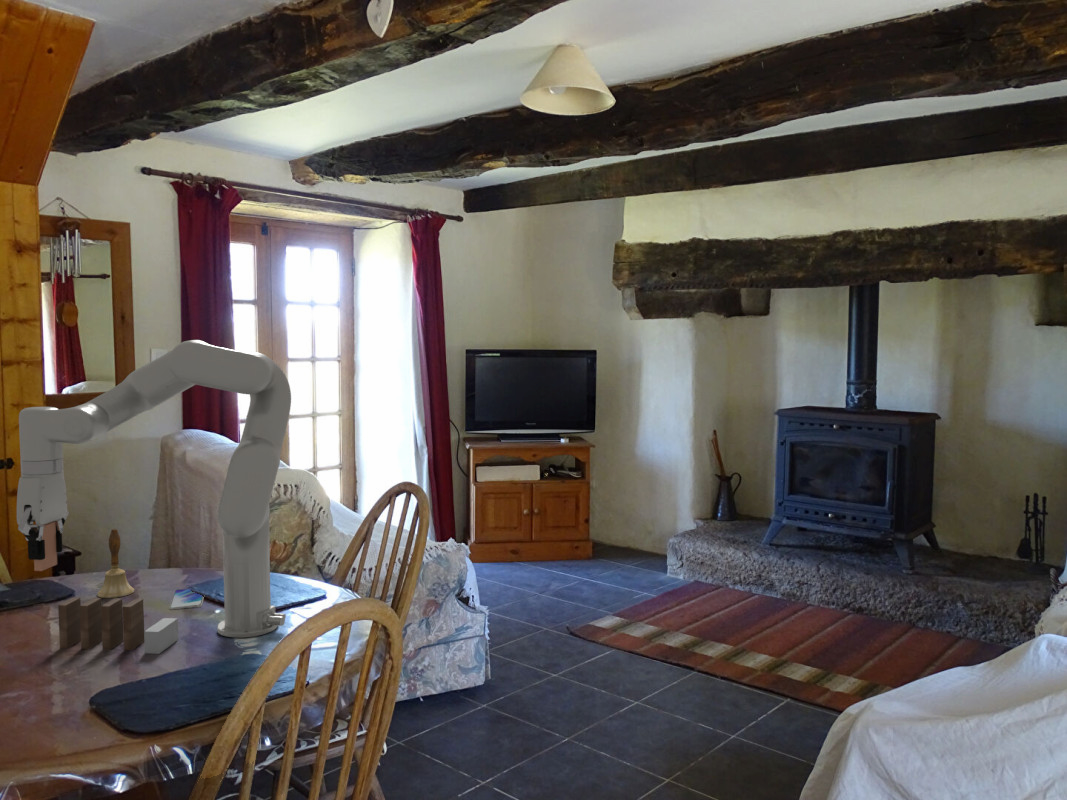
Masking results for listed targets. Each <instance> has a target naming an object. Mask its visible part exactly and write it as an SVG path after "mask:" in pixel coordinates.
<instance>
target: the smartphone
mask: <svg viewBox="0 0 1067 800" xmlns="http://www.w3.org/2000/svg"><path fill="white" fill-rule="evenodd" d="M192 588H193V587H190V588H182V589H181V588H180V589H176V590H174V592H173V595H172V599H171V601H170V605H169V607H168V610H171V611H173V610H174V611H175V610H183V609H195V608H202V607H203V604H204V597H205V596H204V597H203V596H202V595H200V594H197V593H195V592H192V591H191V589H192Z"/></svg>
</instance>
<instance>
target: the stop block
mask: <svg viewBox="0 0 1067 800" xmlns="http://www.w3.org/2000/svg"><path fill="white" fill-rule="evenodd" d="M178 640H179V619H178V618H177V617H173V618H172V617H163V618H162V619H160V620H159V621H158V622H155V623H154V624H153V625H151V626H150V627H149V628H147V629H145V630H144V642H143V643H144V654H158V655H159V654H161V653H162V652H164V651H165V650H166V649H168V648H169V647H170V646H171V645H173V644H175V643H176V642H178Z"/></svg>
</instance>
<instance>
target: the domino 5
mask: <svg viewBox="0 0 1067 800" xmlns="http://www.w3.org/2000/svg"><path fill="white" fill-rule="evenodd" d="M122 608H123V637H124V641H123V649H124V651H133V650H134V649H136V648H137V647H139V646H140V645H142V644H143V643H145V642H144V631H145V615H144V612H145V611H144V599H143V598H135V599H133V600H132V601H130V602H128V603H126V604H125V605H122Z"/></svg>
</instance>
